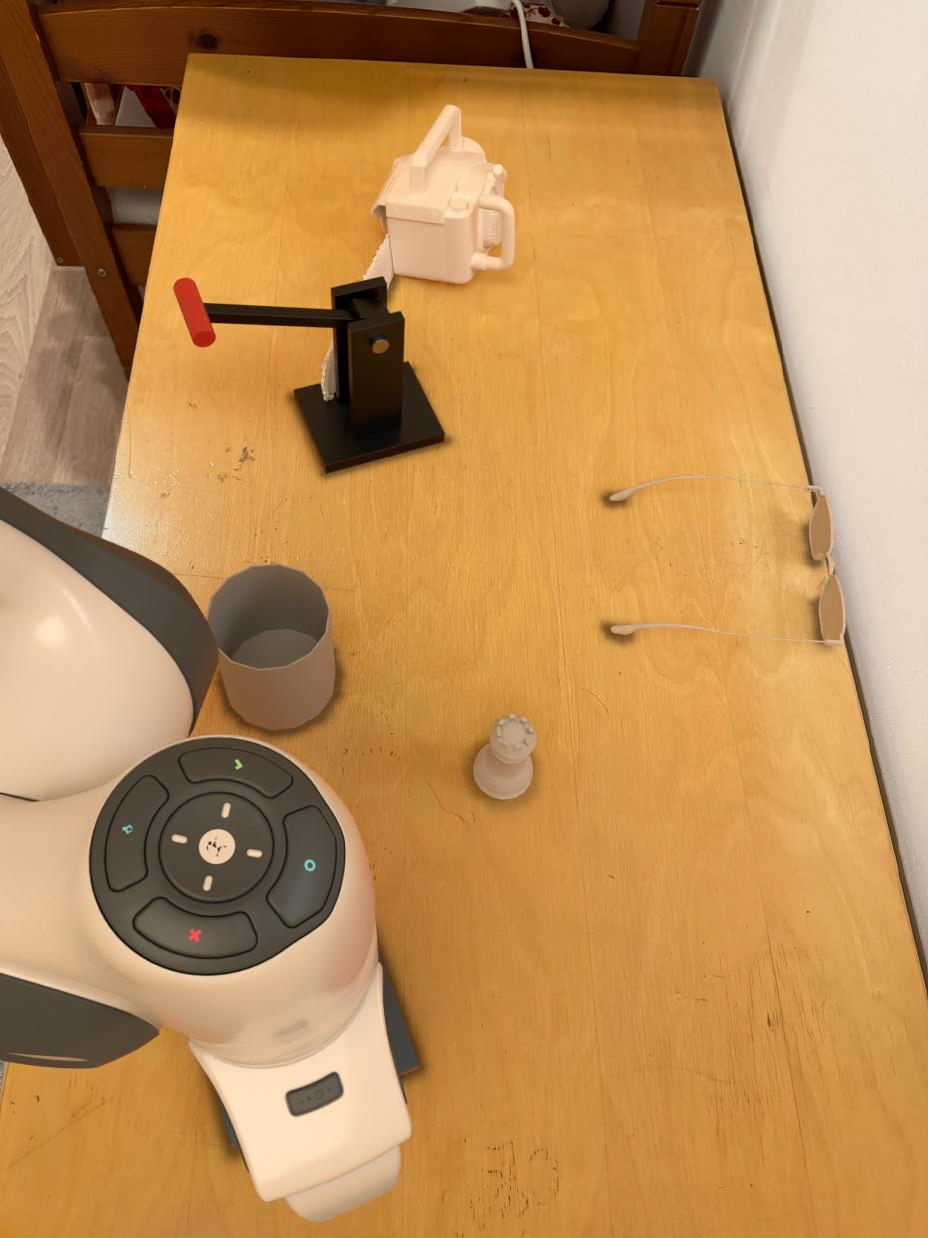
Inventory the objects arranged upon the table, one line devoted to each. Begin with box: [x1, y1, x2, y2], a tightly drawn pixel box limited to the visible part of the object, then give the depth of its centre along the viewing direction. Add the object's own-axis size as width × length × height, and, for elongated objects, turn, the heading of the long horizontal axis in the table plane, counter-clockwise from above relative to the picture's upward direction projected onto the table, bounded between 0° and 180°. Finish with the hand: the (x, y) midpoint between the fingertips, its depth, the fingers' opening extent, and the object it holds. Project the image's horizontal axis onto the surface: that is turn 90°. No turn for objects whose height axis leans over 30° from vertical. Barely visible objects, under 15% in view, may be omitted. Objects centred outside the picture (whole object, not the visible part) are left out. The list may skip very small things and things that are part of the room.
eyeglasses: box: [608, 475, 847, 647], centre depth 84 cm, size 15×18×4 cm
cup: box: [205, 563, 337, 731], centre depth 73 cm, size 8×8×10 cm
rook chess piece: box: [472, 713, 538, 801], centre depth 72 cm, size 4×4×8 cm
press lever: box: [172, 277, 390, 349], centre depth 77 cm, size 16×6×2 cm, turn 112°
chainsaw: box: [320, 104, 516, 401], centre depth 93 cm, size 15×35×12 cm, turn 164°
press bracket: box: [293, 276, 446, 474], centre depth 85 cm, size 11×9×14 cm
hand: (299, 1006), depth 55 cm, fingers closed
